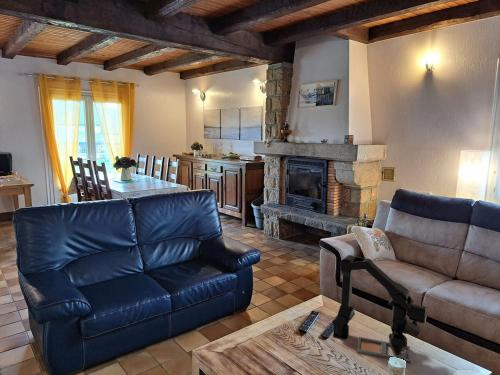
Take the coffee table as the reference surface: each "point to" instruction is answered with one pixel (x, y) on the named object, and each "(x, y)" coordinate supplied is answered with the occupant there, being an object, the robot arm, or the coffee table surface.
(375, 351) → the grey double frame
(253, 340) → the coffee table surface
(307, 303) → the coffee table surface
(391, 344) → the bronze ornate bell
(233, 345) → the coffee table surface
